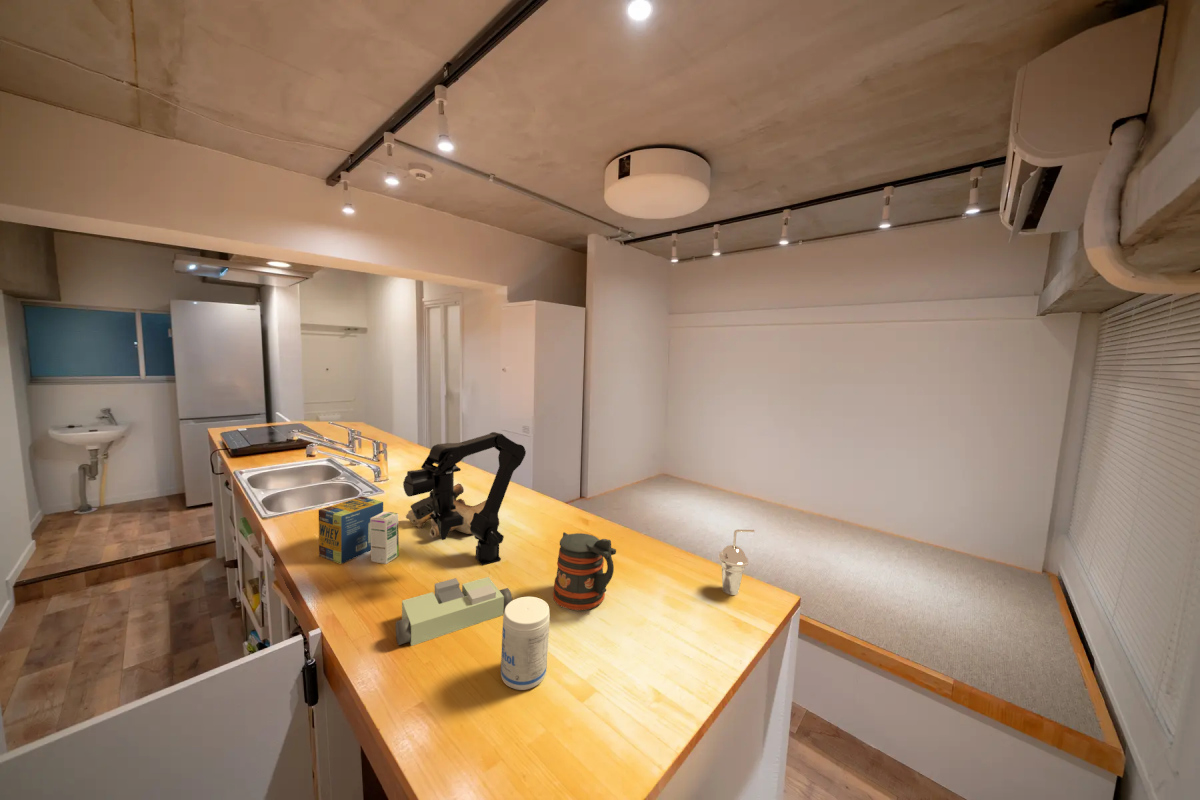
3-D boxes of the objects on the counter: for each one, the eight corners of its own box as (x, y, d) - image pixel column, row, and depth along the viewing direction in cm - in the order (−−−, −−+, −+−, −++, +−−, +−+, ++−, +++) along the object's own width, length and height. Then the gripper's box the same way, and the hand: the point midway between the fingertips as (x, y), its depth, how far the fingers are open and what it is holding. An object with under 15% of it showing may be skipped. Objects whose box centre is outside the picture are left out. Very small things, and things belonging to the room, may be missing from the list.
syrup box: (386, 564, 127) (386, 519, 125) (370, 561, 128) (369, 517, 126) (399, 556, 132) (399, 512, 131) (383, 553, 133) (383, 510, 132)
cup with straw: (724, 580, 128) (729, 518, 126) (752, 592, 122) (758, 528, 120) (710, 589, 122) (715, 525, 120) (738, 603, 116) (744, 535, 114)
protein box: (318, 557, 129) (317, 509, 127) (362, 538, 143) (362, 495, 142) (340, 564, 125) (340, 516, 124) (384, 544, 139) (384, 500, 138)
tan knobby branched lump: (455, 476, 173) (396, 497, 153) (504, 500, 155) (445, 527, 136) (456, 503, 176) (399, 528, 156) (504, 529, 159) (447, 561, 139)
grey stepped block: (455, 599, 111) (456, 578, 110) (464, 615, 104) (465, 592, 104) (434, 605, 107) (434, 583, 107) (442, 622, 101) (442, 599, 100)
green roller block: (496, 591, 115) (496, 569, 115) (512, 611, 106) (512, 588, 106) (391, 622, 100) (391, 597, 99) (399, 649, 91) (399, 622, 90)
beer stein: (627, 601, 114) (632, 532, 112) (595, 626, 102) (600, 550, 100) (576, 576, 125) (579, 514, 123) (542, 597, 114) (545, 528, 112)
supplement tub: (491, 674, 85) (493, 608, 84) (526, 651, 93) (529, 590, 91) (520, 701, 79) (523, 630, 78) (556, 674, 86) (559, 608, 85)
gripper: (406, 483, 121) (406, 533, 123) (421, 503, 106) (422, 560, 108) (444, 478, 127) (444, 525, 129) (464, 495, 113) (464, 549, 114)
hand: (443, 539), depth 120 cm, fingers closed
